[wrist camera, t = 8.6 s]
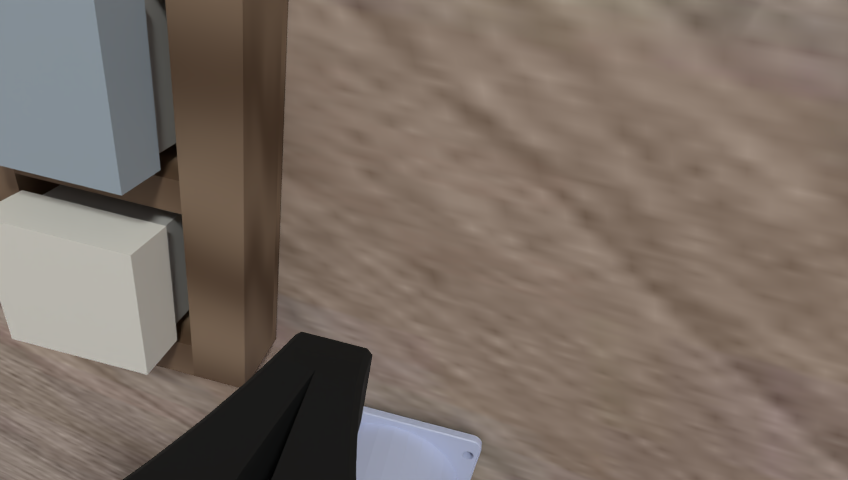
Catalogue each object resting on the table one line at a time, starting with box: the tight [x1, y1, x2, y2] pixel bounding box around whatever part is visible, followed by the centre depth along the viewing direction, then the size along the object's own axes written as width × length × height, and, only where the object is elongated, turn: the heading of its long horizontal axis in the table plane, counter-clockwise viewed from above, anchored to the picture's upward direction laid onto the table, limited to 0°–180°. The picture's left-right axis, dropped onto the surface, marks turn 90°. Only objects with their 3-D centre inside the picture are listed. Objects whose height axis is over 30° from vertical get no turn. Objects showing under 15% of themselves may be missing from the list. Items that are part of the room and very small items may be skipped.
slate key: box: [0, 0, 176, 196], centre depth 15 cm, size 5×5×3 cm
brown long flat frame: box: [0, 0, 288, 387], centre depth 16 cm, size 23×10×3 cm, turn 170°
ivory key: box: [0, 185, 189, 375], centre depth 19 cm, size 5×5×3 cm
